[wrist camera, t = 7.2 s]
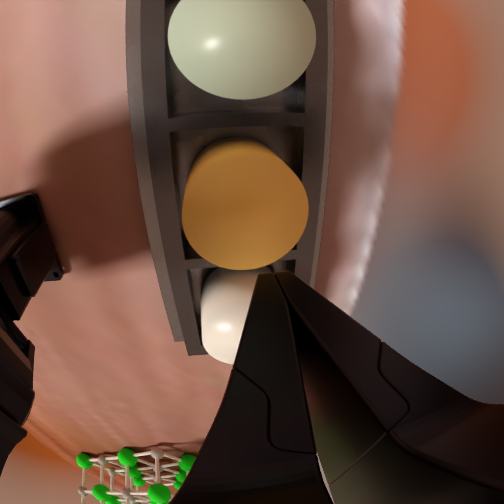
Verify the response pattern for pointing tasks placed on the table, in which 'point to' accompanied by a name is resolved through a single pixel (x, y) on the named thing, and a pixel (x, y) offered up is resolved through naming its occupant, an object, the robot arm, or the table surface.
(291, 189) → the amber button
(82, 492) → the molecular structure model
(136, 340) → the table surface
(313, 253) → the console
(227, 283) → the ivory button
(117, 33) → the table surface
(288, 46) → the sage button
